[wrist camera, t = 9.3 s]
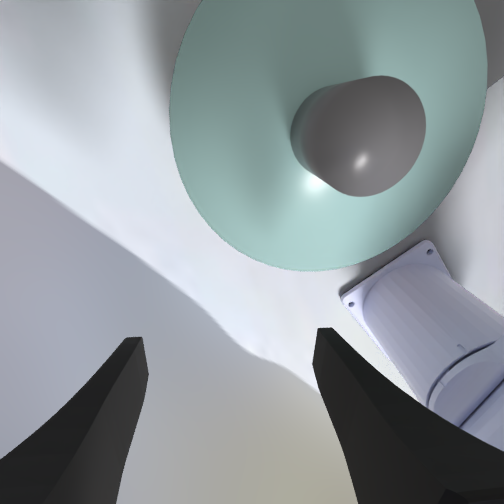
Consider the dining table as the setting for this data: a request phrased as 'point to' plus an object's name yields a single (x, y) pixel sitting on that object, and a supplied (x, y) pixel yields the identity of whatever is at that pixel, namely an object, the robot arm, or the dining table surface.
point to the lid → (325, 121)
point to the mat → (493, 36)
